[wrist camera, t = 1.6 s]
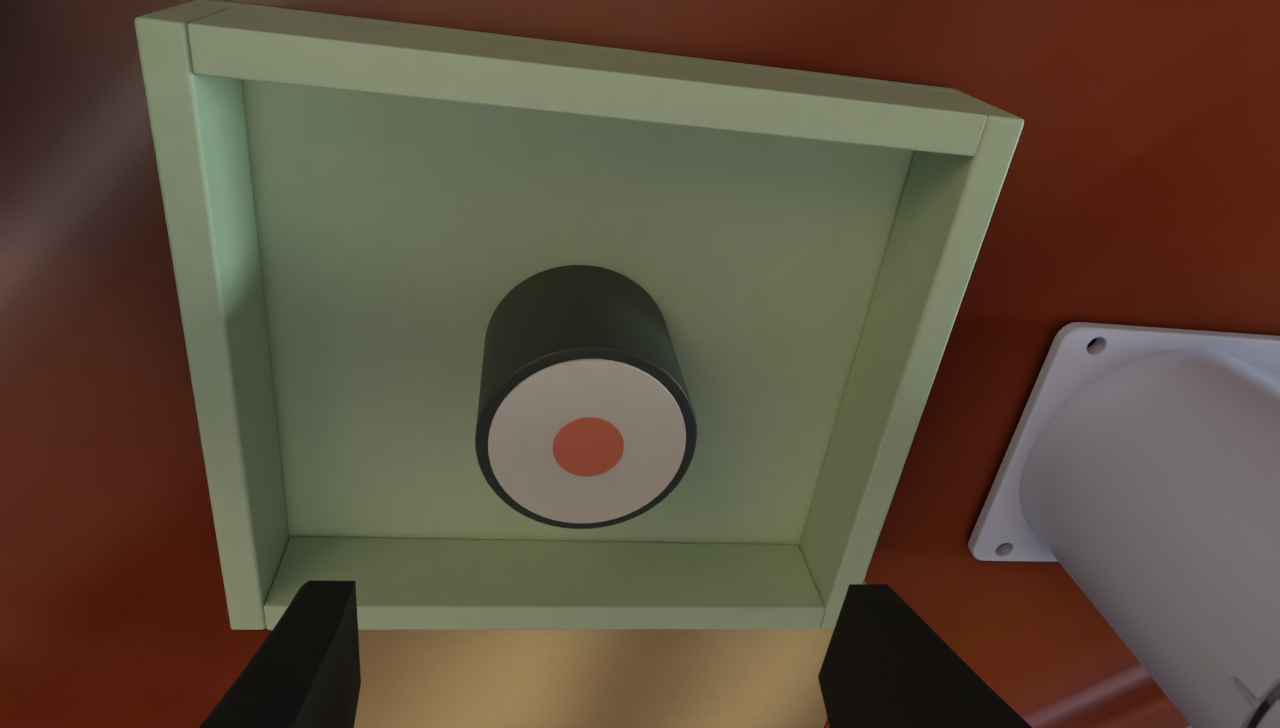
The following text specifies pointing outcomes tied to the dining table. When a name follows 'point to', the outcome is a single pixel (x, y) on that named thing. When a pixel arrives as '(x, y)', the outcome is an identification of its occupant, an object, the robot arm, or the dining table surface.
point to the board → (592, 678)
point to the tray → (521, 247)
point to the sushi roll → (582, 400)
